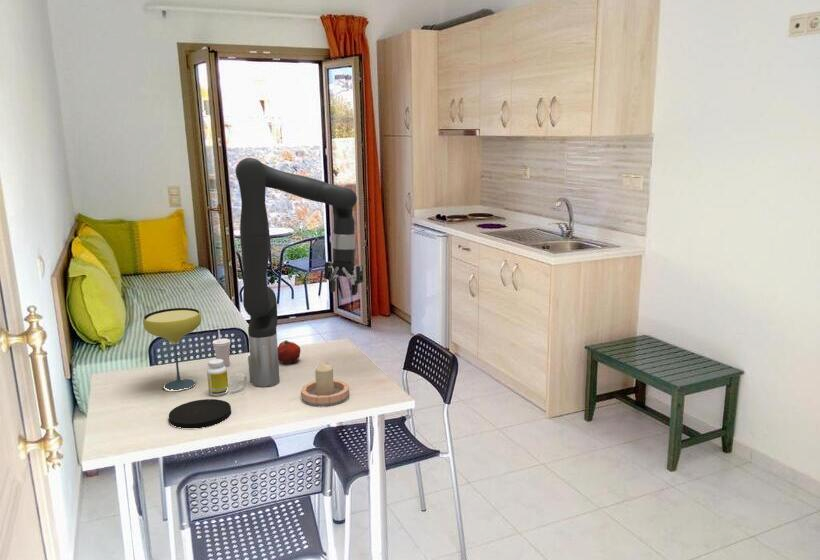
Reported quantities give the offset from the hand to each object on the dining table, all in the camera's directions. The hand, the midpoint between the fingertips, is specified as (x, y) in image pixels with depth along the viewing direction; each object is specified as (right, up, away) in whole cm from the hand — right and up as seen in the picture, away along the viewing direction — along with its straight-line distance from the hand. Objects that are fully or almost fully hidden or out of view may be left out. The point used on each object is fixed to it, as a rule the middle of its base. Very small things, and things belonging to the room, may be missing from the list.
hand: (343, 293), depth 221 cm
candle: (-4, -32, -16) cm, 36 cm away
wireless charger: (-40, -37, -28) cm, 61 cm away
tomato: (-22, -26, +18) cm, 39 cm away
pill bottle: (-40, -33, -10) cm, 53 cm away
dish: (-4, -33, -16) cm, 37 cm away
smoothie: (-46, -27, +15) cm, 55 cm away
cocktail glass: (-55, -31, -4) cm, 64 cm away
